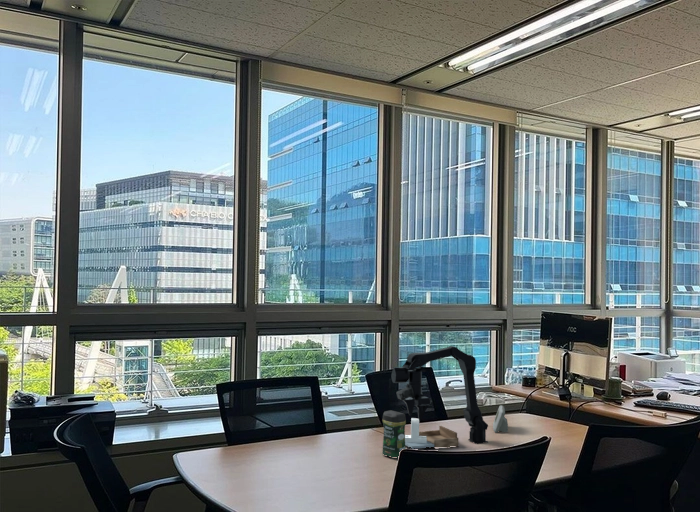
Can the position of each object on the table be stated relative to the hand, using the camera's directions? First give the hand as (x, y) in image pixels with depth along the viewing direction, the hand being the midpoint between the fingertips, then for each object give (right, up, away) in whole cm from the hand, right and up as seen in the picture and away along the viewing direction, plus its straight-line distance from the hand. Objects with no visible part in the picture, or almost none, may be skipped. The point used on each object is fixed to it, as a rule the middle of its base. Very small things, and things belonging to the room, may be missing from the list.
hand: (415, 417), depth 272 cm
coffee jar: (-10, -12, -16) cm, 23 cm away
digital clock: (+45, -14, +31) cm, 56 cm away
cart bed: (+11, -13, +4) cm, 17 cm away
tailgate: (+5, -11, +2) cm, 12 cm away
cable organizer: (0, -11, -1) cm, 11 cm away
